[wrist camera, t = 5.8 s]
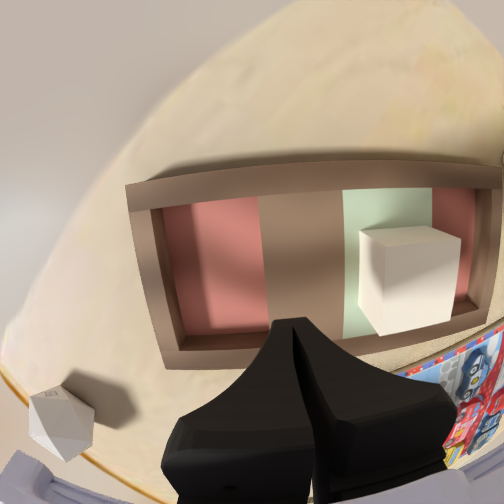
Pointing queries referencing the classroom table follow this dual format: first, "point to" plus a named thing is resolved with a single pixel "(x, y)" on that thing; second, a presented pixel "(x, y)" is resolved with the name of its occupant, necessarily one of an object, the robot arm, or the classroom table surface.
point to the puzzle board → (468, 387)
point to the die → (61, 422)
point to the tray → (299, 250)
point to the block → (407, 277)
